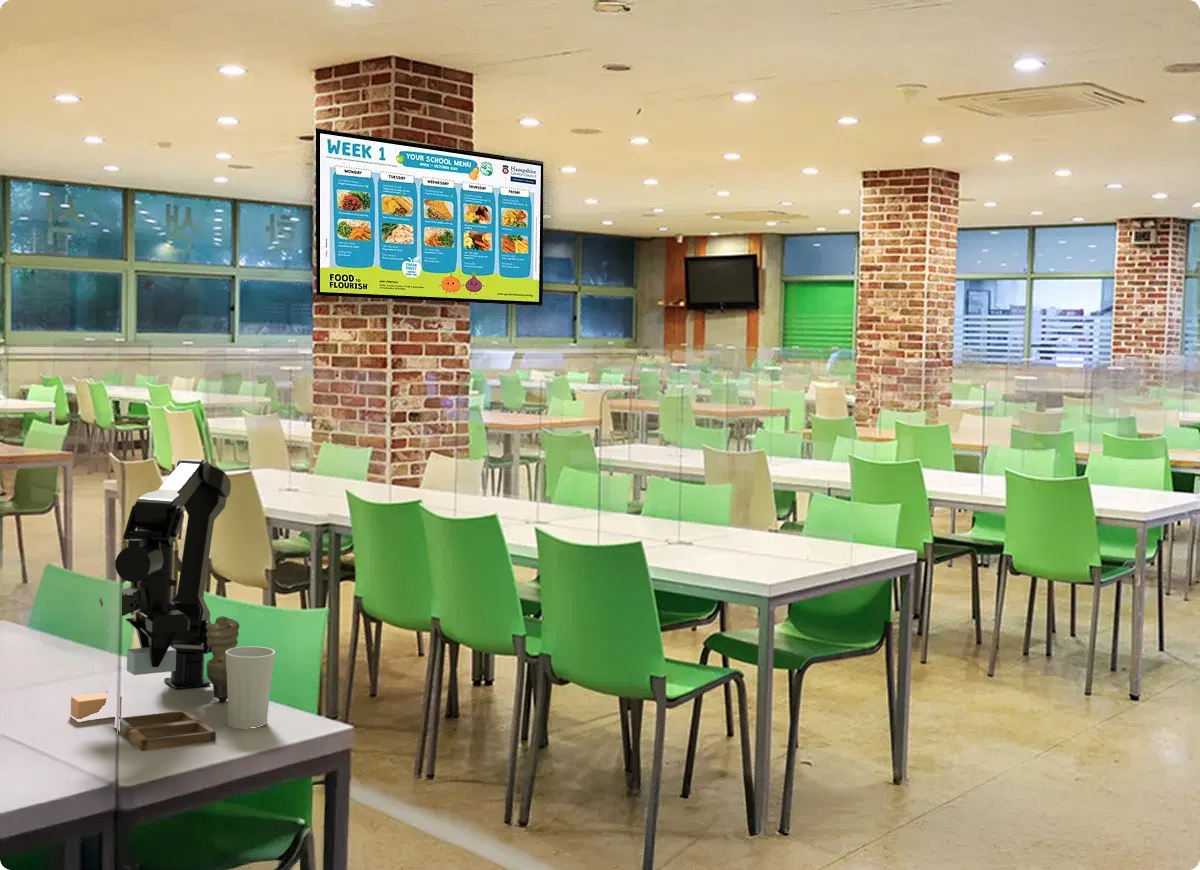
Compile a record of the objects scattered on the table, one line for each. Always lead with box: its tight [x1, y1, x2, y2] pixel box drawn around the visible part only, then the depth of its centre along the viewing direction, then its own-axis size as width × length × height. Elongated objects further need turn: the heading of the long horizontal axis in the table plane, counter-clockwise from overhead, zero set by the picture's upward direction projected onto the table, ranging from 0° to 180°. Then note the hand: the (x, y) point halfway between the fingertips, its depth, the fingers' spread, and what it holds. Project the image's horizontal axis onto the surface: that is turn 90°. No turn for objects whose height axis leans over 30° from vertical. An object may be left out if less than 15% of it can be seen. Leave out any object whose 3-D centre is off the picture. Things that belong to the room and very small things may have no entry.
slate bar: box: [126, 646, 176, 676], centre depth 226 cm, size 4×7×4 cm, turn 128°
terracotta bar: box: [70, 691, 123, 719], centre depth 222 cm, size 4×7×4 cm, turn 130°
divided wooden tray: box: [119, 710, 217, 752], centre depth 214 cm, size 14×12×2 cm
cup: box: [225, 645, 276, 729], centre depth 222 cm, size 8×8×12 cm
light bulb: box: [206, 616, 240, 703], centre depth 235 cm, size 6×6×15 cm
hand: (151, 664), depth 226 cm, fingers closed on slate bar, 4 cm apart
